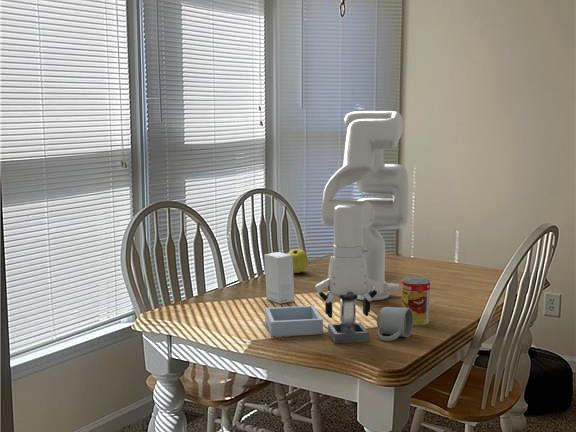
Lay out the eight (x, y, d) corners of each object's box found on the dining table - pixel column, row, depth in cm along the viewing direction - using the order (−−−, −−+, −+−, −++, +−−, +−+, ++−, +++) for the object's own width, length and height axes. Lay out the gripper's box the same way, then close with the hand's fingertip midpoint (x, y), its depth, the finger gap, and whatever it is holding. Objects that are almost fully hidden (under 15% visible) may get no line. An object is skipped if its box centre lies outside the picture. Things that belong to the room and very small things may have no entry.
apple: (287, 270, 278) (287, 243, 277) (308, 270, 277) (308, 244, 275) (284, 275, 270) (284, 247, 269) (306, 275, 269) (306, 248, 268)
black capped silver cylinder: (354, 334, 202) (355, 286, 200) (359, 339, 197) (359, 291, 195) (336, 335, 202) (336, 287, 200) (340, 340, 197) (340, 292, 195)
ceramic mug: (385, 328, 207) (385, 301, 206) (414, 332, 203) (414, 305, 202) (370, 340, 198) (370, 311, 197) (399, 344, 194) (400, 315, 193)
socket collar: (360, 331, 205) (360, 322, 204) (368, 341, 196) (368, 332, 195) (327, 333, 203) (327, 324, 203) (334, 343, 195) (334, 334, 194)
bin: (313, 319, 216) (313, 305, 216) (322, 333, 203) (322, 319, 202) (265, 321, 214) (265, 307, 214) (271, 336, 201) (271, 322, 200)
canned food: (399, 317, 217) (400, 276, 216) (427, 317, 217) (427, 276, 215) (403, 325, 210) (403, 283, 208) (431, 325, 209) (432, 283, 207)
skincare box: (295, 301, 235) (294, 255, 233) (278, 304, 232) (278, 257, 229) (280, 296, 242) (279, 250, 240) (264, 298, 239) (263, 253, 236)
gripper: (376, 248, 201) (376, 310, 203) (312, 250, 198) (312, 313, 201) (384, 253, 193) (383, 318, 196) (317, 255, 191) (317, 321, 193)
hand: (347, 315), depth 198 cm, fingers open, 9 cm apart
